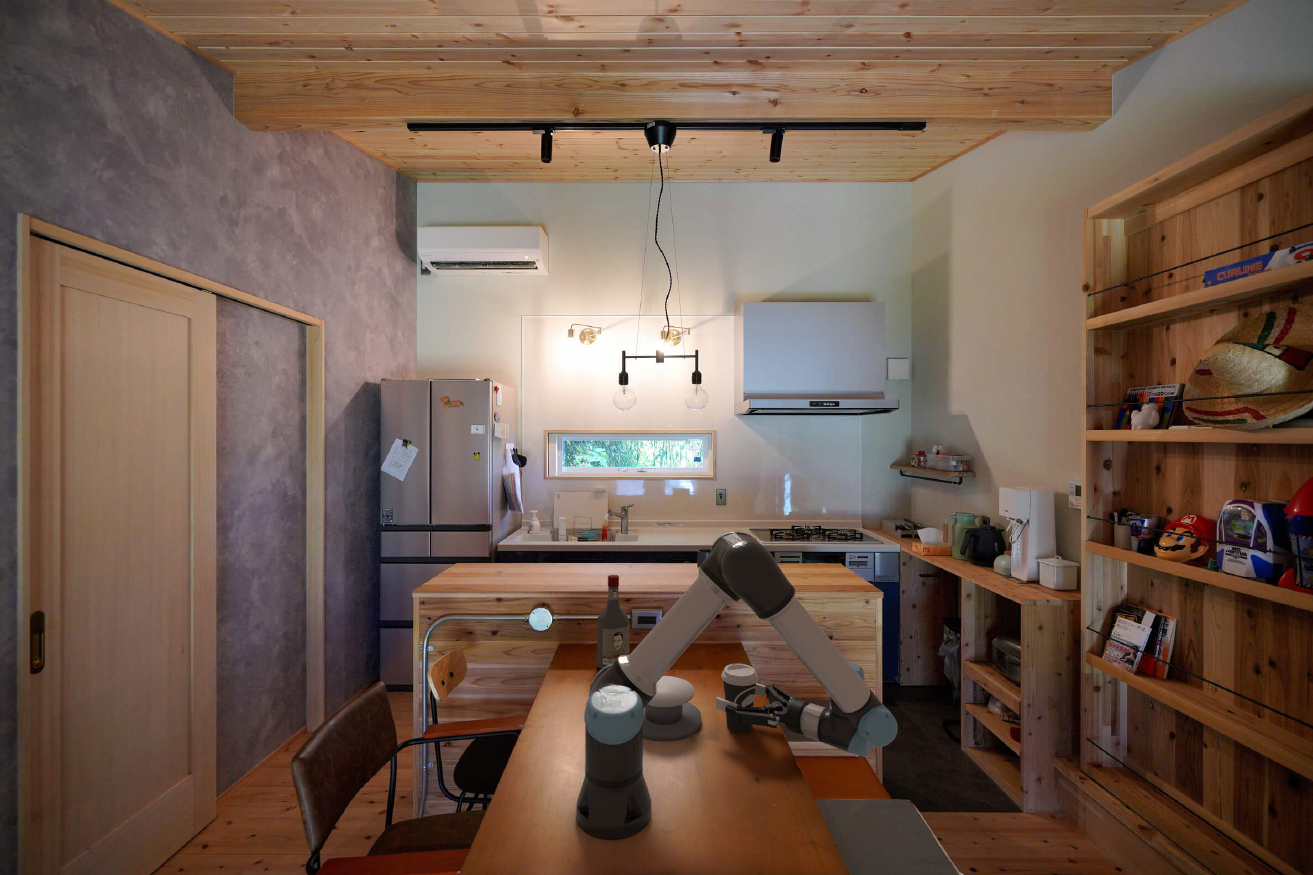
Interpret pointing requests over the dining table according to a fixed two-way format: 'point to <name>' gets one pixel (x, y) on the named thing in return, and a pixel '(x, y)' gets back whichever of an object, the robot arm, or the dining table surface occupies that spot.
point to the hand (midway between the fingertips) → (730, 693)
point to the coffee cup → (739, 692)
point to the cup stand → (671, 711)
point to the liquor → (612, 628)
